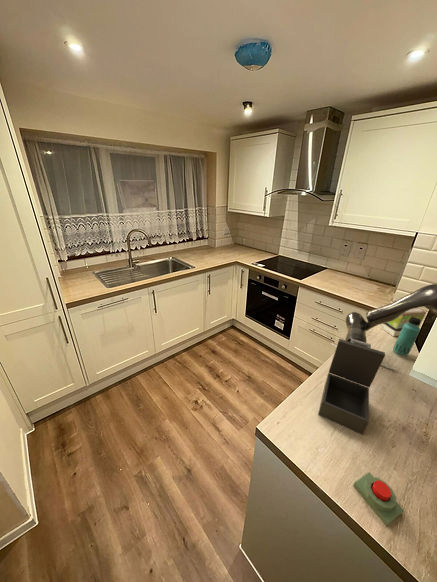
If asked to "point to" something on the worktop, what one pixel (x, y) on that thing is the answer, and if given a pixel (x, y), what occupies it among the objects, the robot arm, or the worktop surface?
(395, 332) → the tea box
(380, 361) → the sandwich lid
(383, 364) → the butter knife
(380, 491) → the button
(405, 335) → the beverage bottle
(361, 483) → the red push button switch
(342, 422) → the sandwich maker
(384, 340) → the worktop surface
